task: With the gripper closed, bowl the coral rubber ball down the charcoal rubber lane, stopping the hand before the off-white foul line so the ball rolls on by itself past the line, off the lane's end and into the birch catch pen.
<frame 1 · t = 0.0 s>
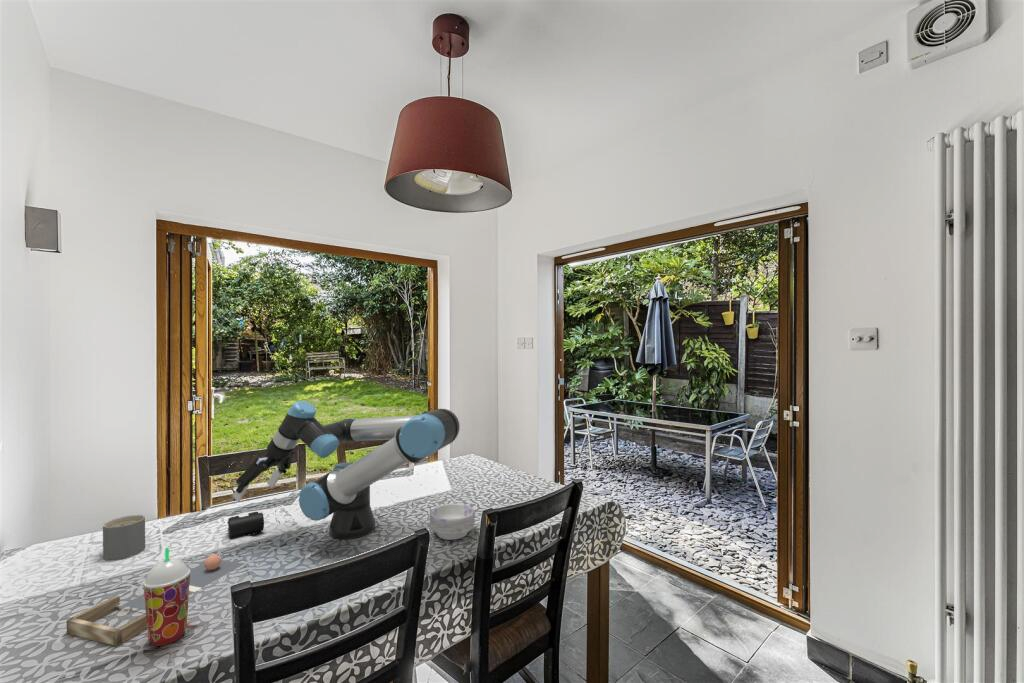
hand: (253, 491, 149), 15 cm above the table, tool tilted 35°, fingers open, 13 cm apart
paper bowls: (452, 534, 149), on the table
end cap: (245, 536, 150), on the table
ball: (212, 569, 126), point 1 cm above the table, touching lane
catch pen: (116, 625, 103), on the table
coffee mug: (124, 551, 140), on the table
lane: (188, 586, 119), on the table
smoothie: (168, 638, 98), on the table
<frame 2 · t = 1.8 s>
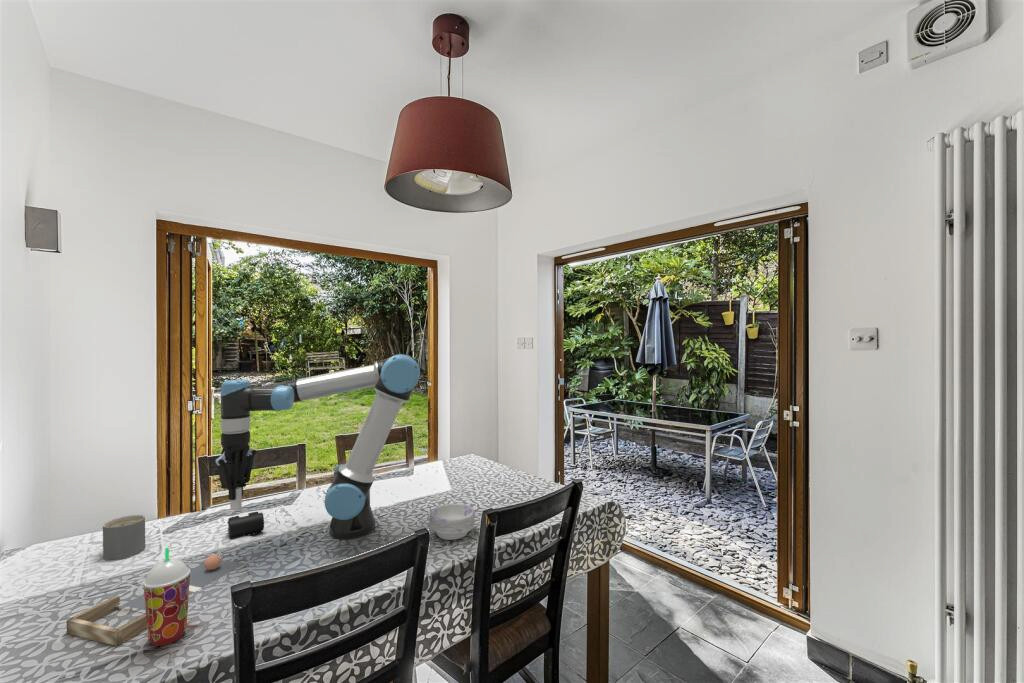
hand: (236, 509, 133), 15 cm above the table, tool pointing down, fingers closed
nothing on the table moved.
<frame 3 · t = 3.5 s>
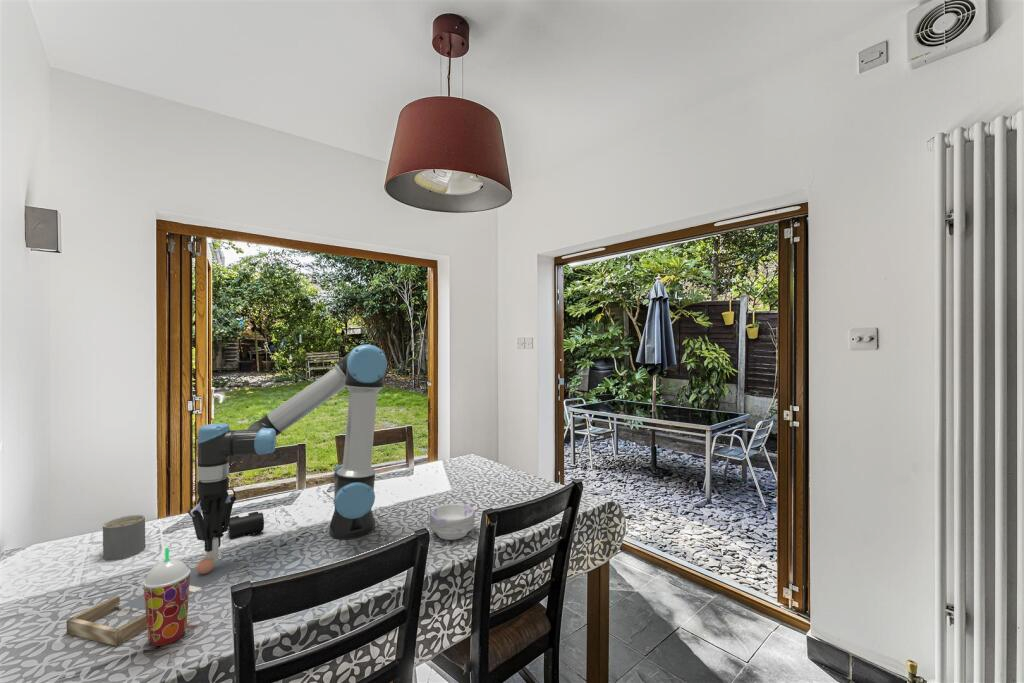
hand: (212, 560, 126), 3 cm above the table, tool pointing down, fingers closed
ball: (210, 567, 125), point 2 cm above the table, tilted 51°, touching lane
everything else where it was.
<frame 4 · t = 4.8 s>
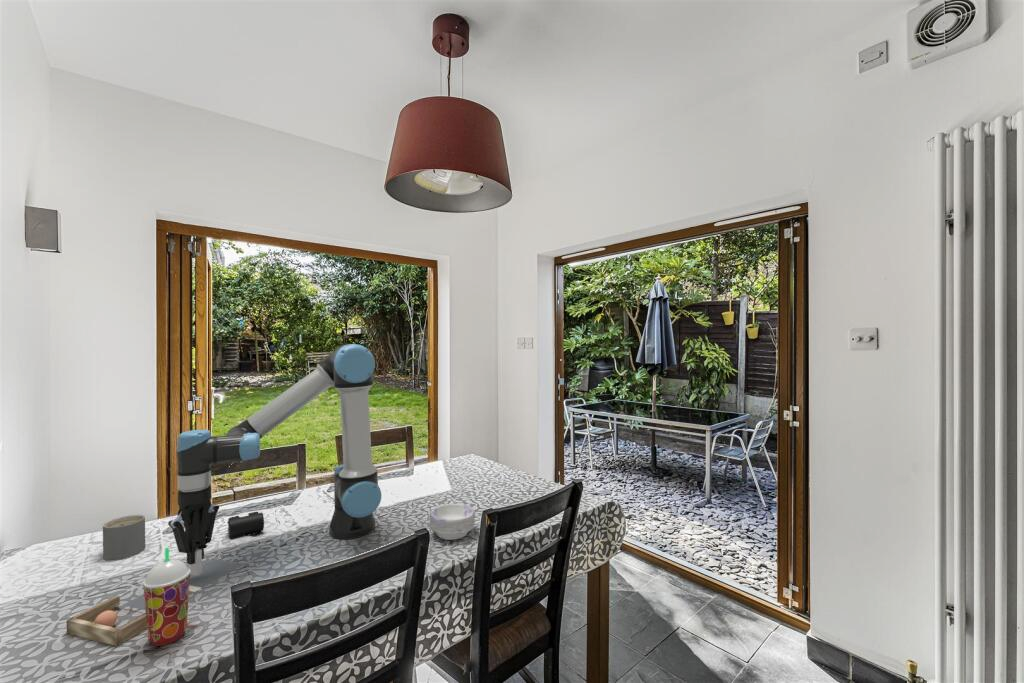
hand: (195, 573, 121), 2 cm above the table, tool pointing down, fingers closed
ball: (109, 626, 102), on the table, tilted 22°
everything else where it was.
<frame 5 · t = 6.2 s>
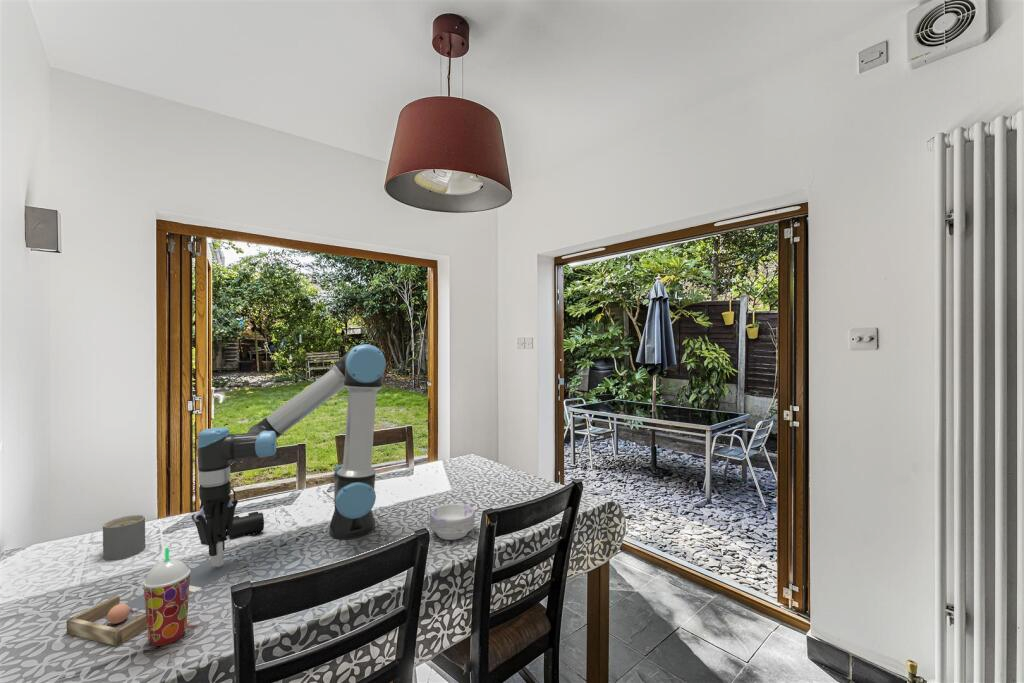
hand: (217, 564, 126), 2 cm above the table, tool pointing down, fingers closed
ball: (110, 622, 102), point 1 cm above the table, tilted 54°
everything else where it was.
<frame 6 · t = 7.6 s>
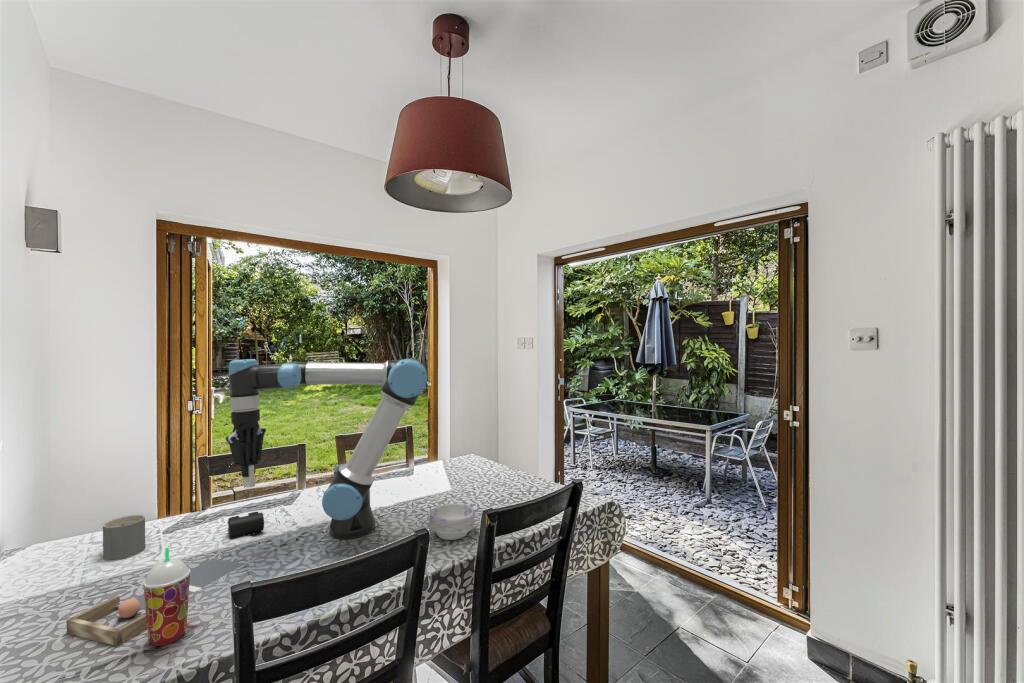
hand: (249, 486, 135), 21 cm above the table, tool pointing down, fingers closed
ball: (120, 608, 104), point 3 cm above the table, tilted 118°
everything else where it was.
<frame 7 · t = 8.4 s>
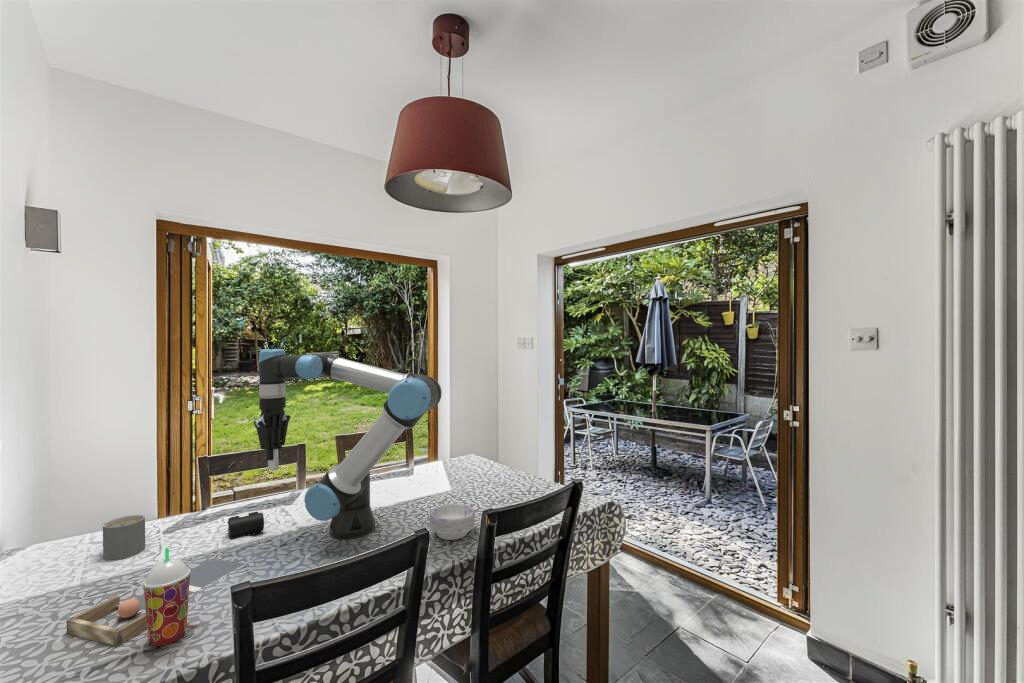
hand: (273, 469, 143), 24 cm above the table, tool pointing down, fingers closed
nothing on the table moved.
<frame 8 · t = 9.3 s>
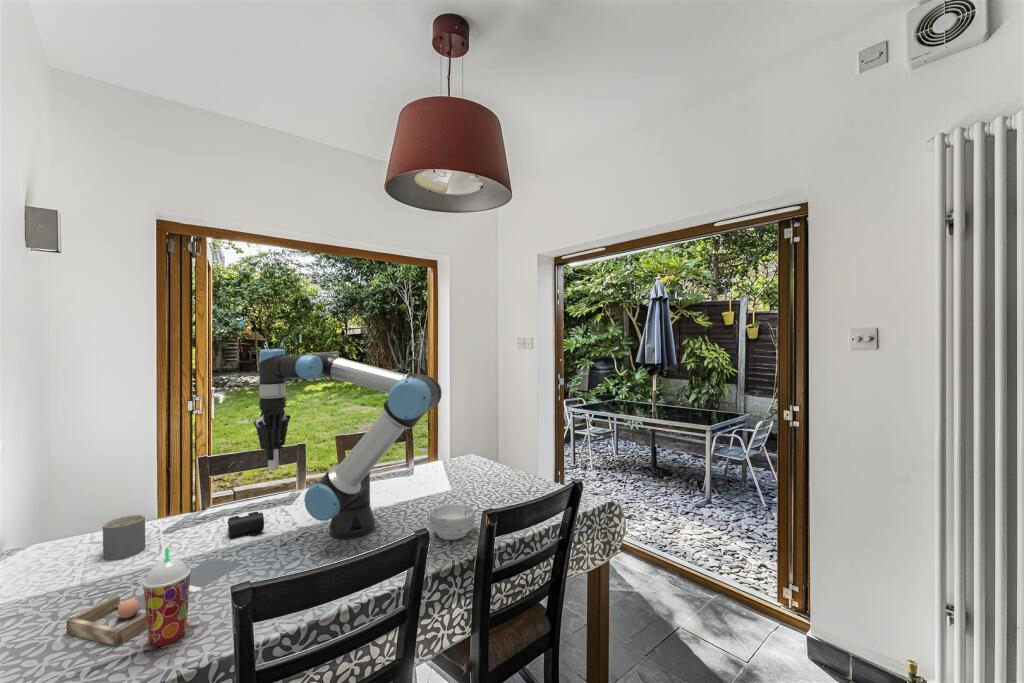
hand: (273, 469, 143), 24 cm above the table, tool pointing down, fingers closed
nothing on the table moved.
at the end: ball inside the target area (2.4 cm from its centre), point 2.8 cm above the table; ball moved 22.8 cm from its start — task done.
